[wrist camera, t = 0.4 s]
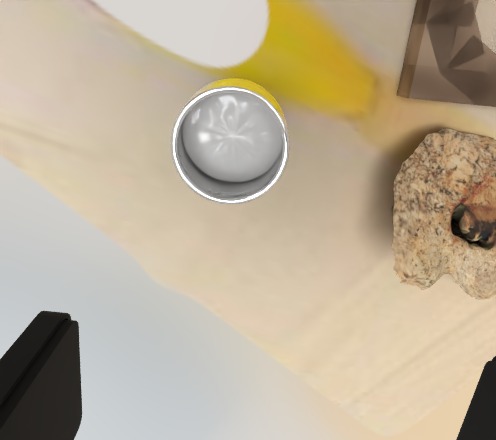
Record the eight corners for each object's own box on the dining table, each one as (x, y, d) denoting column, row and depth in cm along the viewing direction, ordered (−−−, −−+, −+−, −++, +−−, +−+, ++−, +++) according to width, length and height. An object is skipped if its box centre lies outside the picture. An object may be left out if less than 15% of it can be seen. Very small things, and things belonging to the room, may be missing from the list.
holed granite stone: (494, 141, 44) (573, 137, 37) (478, 275, 46) (551, 296, 39) (352, 125, 38) (416, 117, 31) (339, 284, 39) (397, 310, 32)
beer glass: (210, 61, 36) (184, 63, 22) (288, 87, 36) (311, 105, 22) (190, 140, 38) (153, 188, 24) (263, 163, 39) (270, 222, 25)
